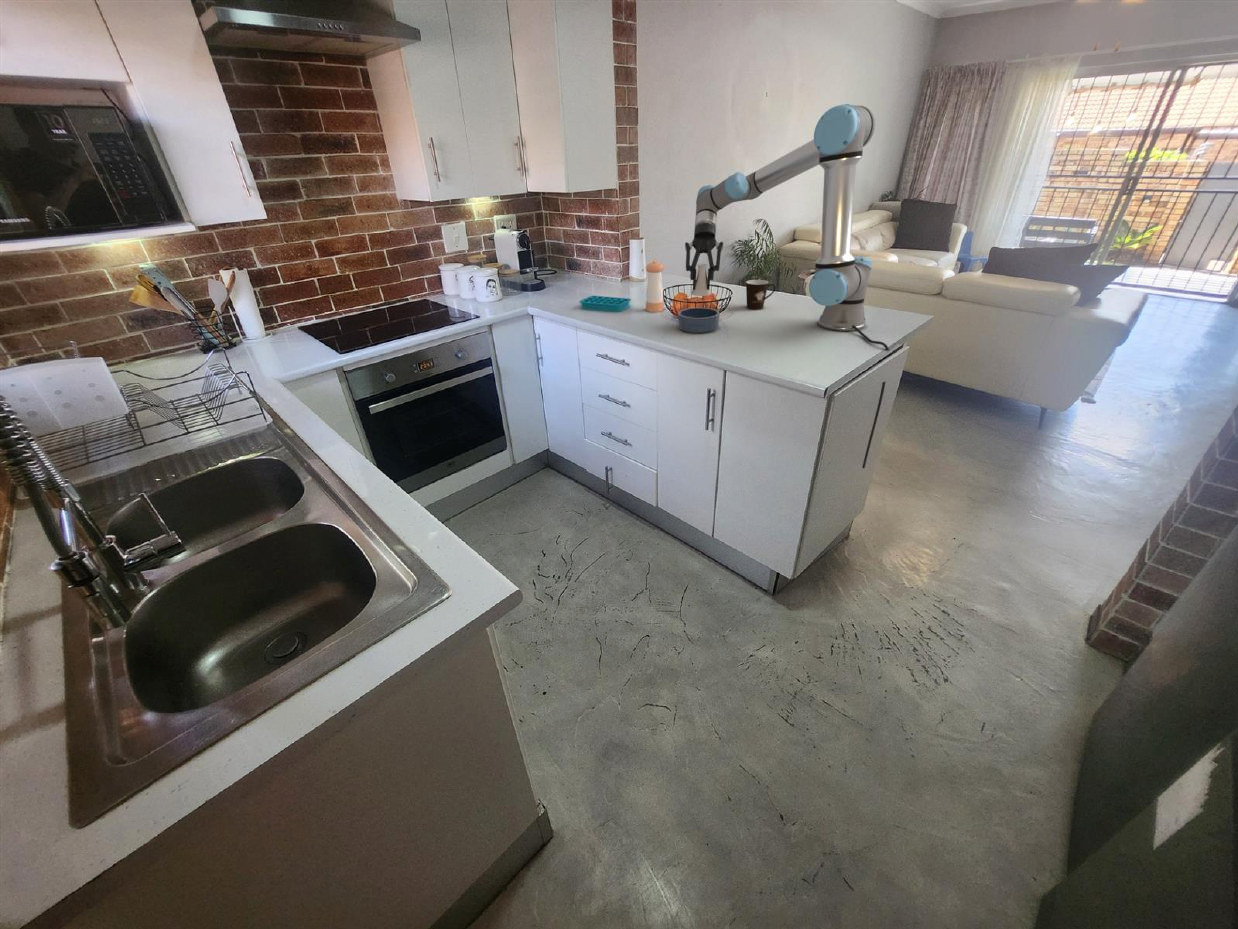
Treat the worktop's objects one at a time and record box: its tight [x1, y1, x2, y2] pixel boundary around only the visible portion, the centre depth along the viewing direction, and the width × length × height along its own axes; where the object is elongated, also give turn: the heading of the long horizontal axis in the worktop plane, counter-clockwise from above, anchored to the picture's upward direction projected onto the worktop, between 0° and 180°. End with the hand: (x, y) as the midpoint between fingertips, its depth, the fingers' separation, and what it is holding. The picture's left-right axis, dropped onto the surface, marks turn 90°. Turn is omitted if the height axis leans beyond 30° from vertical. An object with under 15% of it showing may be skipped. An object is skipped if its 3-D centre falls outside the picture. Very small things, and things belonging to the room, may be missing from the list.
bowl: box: [677, 307, 721, 334], centre depth 183 cm, size 15×15×6 cm
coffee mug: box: [745, 279, 776, 311], centre depth 202 cm, size 12×9×10 cm
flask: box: [690, 263, 713, 297], centre depth 176 cm, size 7×7×10 cm
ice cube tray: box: [578, 295, 632, 313], centre depth 215 cm, size 12×20×3 cm, turn 62°
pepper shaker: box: [645, 260, 665, 313], centre depth 204 cm, size 7×7×19 cm
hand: (701, 287), depth 174 cm, fingers closed on flask, 4 cm apart
